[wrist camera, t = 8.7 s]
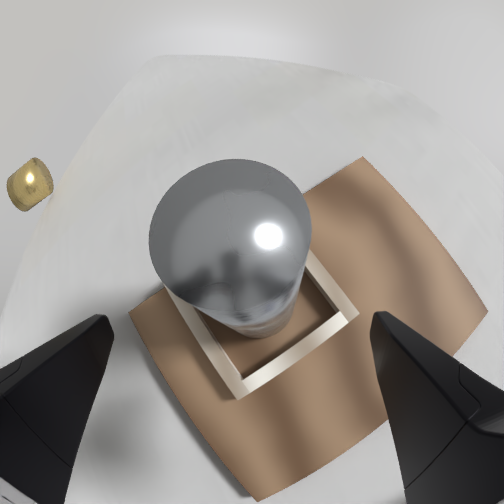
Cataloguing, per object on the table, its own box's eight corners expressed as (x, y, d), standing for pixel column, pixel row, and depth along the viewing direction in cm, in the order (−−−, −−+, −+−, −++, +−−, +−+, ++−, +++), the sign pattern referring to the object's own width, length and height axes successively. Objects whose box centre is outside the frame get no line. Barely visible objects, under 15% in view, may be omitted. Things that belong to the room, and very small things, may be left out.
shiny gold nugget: (24, 156, 23) (2, 175, 23) (38, 195, 25) (15, 213, 24) (45, 158, 28) (23, 175, 28) (58, 193, 29) (36, 209, 29)
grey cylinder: (268, 352, 20) (247, 347, 8) (210, 312, 21) (120, 250, 9) (307, 293, 21) (341, 203, 9) (250, 257, 22) (213, 139, 10)
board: (258, 495, 17) (255, 509, 15) (135, 314, 23) (120, 310, 20) (480, 313, 20) (496, 308, 17) (360, 163, 26) (365, 148, 23)
